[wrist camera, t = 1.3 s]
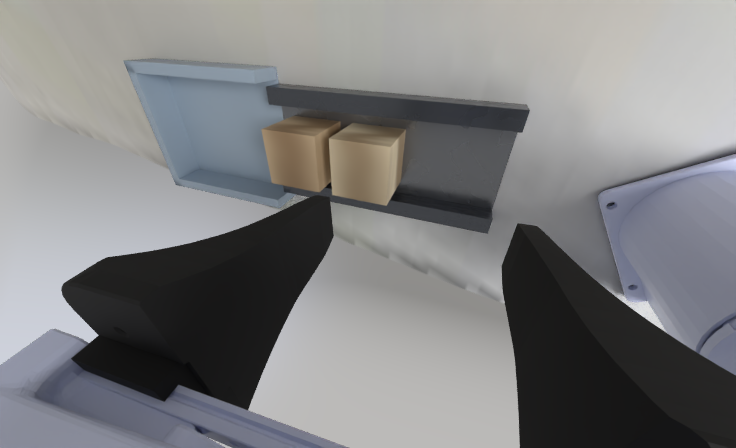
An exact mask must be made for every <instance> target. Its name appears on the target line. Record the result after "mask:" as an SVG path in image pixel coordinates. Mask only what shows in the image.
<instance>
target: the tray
mask: <svg viewBox="0 0 736 448" xmlns="http://www.w3.org/2000/svg"><path fill="white" fill-rule="evenodd" d="M124 64H125V66H126V68H127V71H128V73H129V75H130V78H131V80H132V82H133V85H134V87H135V90H136V92H137V94H138V97H139V99H140V101H141V104H142V106H143V108H144V111H145V113H146V115H147V118H148V120H149V123H150V125H151V127H152V130H153V132H154V134H155V137H156V139H157V141H158V144H159V146H160V149H161V151H162V153H163V156H164V158H165V160H166V163H167V165H168V167H169V170H170V172H171V174H172V177H173V179H174V182H175V183H176V185H179V186H183V187H188V188H193V189H197V190H201V191H206V192H210V193H215V194H219V195H224V196H228V197H233V198H237V199H241V200H246V201H250V202H255V203H259V204H264V205H268V206H273V207H277V208H280V207H281V206H283V205H284V204H285V203H286V202H287V201H289V200H290V199H291V198H292V197H293V196H295V194H292V193H287V192H284V188H283V185H279V184H274V183H272V180H271V175H270V170H269V165H268V160H267V155H266V150H265V145H264V140H263V135H262V130H261V129H263V128H265V127H268V126H270V125H273V124H275V123H277V122H280V121H282V120H284V119H283V112H282V106H276V105H269V102H268V96H267V91H266V86H270V85H275V84H279V82H278V76H277V69H276V67H273V66H258V65H243V64H228V63H213V62H198V61H183V60H168V59H141V60H125V61H124Z"/></svg>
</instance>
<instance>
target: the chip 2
mask: <svg viewBox="0 0 736 448" xmlns="http://www.w3.org/2000/svg"><path fill="white" fill-rule="evenodd" d="M405 133H406V129H400V128H392V127H383V126H375V125H367V124H358V123H352V124H350V125H349V126H347V127H346V128H344V129H343V130H341V131H340V132H338V133H336V134H335V135H333V136H332V137H330V138H329V150H330V167H331V184H332V195H335V196H340V197H345V198H350V199H355V200H360V201H365V202H370V203H375V204H380V205H385V206H387V204H388V202H389V200H390V199H391V197H392V195H393V194H394V192H395V190H396V188H397V187H398V185H399V183H400V181H401V173H402V163H403V153H404V143H405Z"/></svg>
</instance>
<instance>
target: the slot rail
mask: <svg viewBox="0 0 736 448" xmlns="http://www.w3.org/2000/svg"><path fill="white" fill-rule="evenodd" d="M266 91H267V96H268V102H269V105H276V106H282V112H283V119H284V120H285V119H287V118H290V117H292V116H300V117H308V118H316V119H325V120H333V121H340V125H341V130H343V129H344V128H346V127H347V126H349V125H350V124H352V123H358V124H367V125H375V126H383V127H392V128H400V129H406V133H405V143H404V153H403V163H402V173H401V181H400V183H399V185H398V187H397V188H396V190H395V192H394V194H393V195H392V197H391V199H390V200H389V202H388V204H387V206H385V205H380V204H375V203H370V202H365V201H360V200H355V199H350V198H345V197H340V196H335V195H332V184H331V182H330V183H329V184H328V185H327V186H326V187H325V188H324V189H323V190H322V191H320V192H315V191H310V190H304V189H299V188H294V187H289V186H284V185H283V188H284V192H287V193H292V194H297V195H302V196H306V197H312V196H315V195H320V196H327V197H330V201H331V202H336V203H341V204H345V205H350V206H355V207H360V208H365V209H370V210H375V211H380V212H384V213H389V214H394V215H399V216H404V217H409V218H414V219H419V220H423V221H428V222H433V223H438V224H443V225H448V226H453V227H458V228H463V229H467V230H472V231H477V232H482V233H487V234H488V231H489V228H490V225H491V222H492V207H493V204H494V201H495V198H496V195H497V192H498V189H499V186H500V183H501V180H502V177H503V174H504V171H505V168H506V165H507V162H508V159H509V156H510V153H511V150H512V147H513V144H514V141H515V138H516V135H517V132H523V129H524V126H525V123H526V120H527V117H528V114H529V111H530V110H529V108H528V106H527V105H524V104H512V103H500V102H489V101H477V100H465V99H453V98H442V97H430V96H418V95H406V94H395V93H383V92H371V91H360V90H348V89H336V88H324V87H313V86H301V85H289V84H275V85H270V86H266Z"/></svg>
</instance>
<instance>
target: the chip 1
mask: <svg viewBox="0 0 736 448" xmlns="http://www.w3.org/2000/svg"><path fill="white" fill-rule="evenodd" d="M261 130H262V135H263V140H264V145H265V150H266V155H267V160H268V165H269V170H270V175H271V180H272V183H274V184H279V185H284V186H289V187H294V188H299V189H304V190H310V191H315V192H320V191H322V190H323V189H324V188H325V187H326V186H327V185H328V184H329V183H330V182H331V167H330V150H329V138H330V137H332V136H333V135H335V134H336V133H338V132H340V131H341V125H340V121H333V120H325V119H316V118H308V117H300V116H292V117H290V118H287V119H285V120H282V121H280V122H277V123H275V124H273V125H270V126H268V127H265V128H263V129H261Z"/></svg>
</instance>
